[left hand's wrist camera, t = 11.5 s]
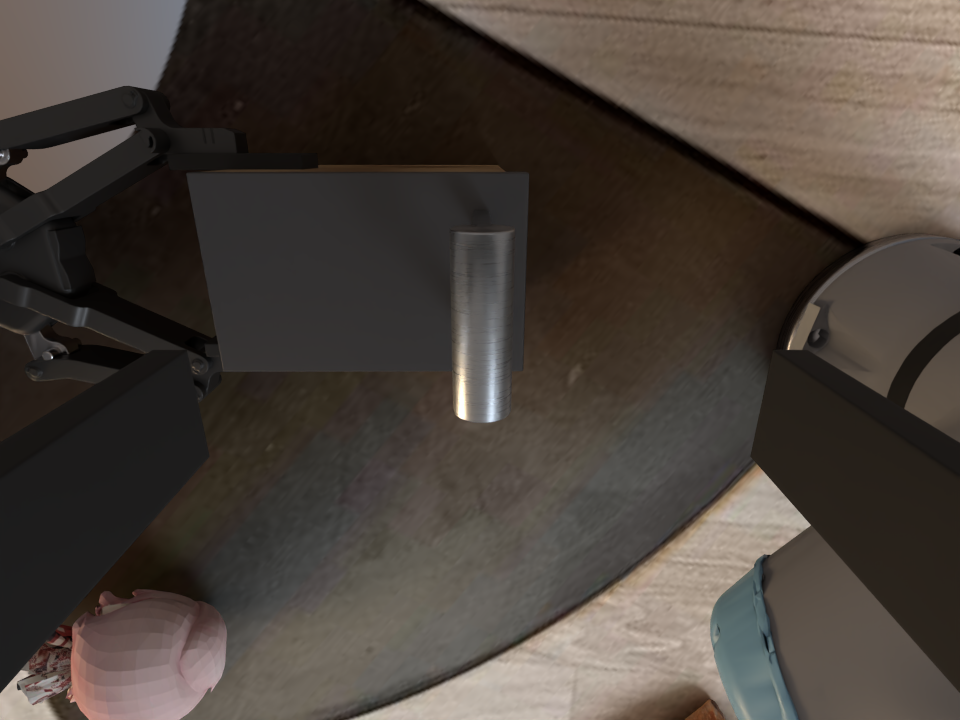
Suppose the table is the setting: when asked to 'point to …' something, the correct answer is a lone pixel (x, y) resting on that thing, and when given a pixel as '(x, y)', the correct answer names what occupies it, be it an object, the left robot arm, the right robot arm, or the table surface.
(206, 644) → the toy
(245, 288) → the lid
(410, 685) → the table surface
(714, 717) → the ceramic shard
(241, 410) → the table surface
